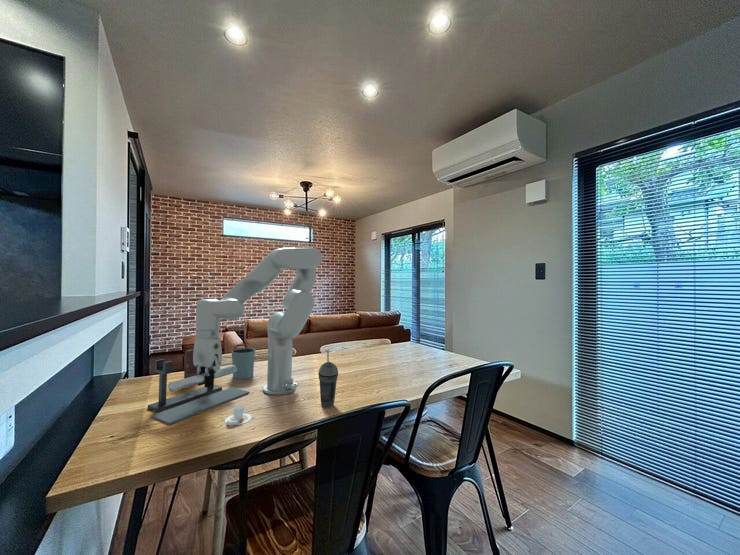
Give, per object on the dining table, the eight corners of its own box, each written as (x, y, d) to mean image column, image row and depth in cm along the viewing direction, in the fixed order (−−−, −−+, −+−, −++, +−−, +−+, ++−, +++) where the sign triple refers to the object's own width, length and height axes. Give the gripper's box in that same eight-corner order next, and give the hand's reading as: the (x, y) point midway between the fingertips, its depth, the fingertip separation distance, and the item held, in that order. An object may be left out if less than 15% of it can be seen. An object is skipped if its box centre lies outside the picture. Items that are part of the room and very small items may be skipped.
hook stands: (222, 389, 121) (223, 350, 121) (157, 412, 100) (159, 364, 100) (212, 387, 124) (213, 348, 124) (147, 408, 103) (149, 361, 103)
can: (193, 384, 126) (194, 351, 126) (180, 383, 128) (181, 350, 128) (204, 380, 132) (205, 348, 132) (191, 378, 134) (192, 347, 134)
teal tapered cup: (249, 380, 134) (249, 353, 134) (226, 379, 134) (227, 352, 134) (257, 373, 144) (258, 348, 144) (236, 372, 144) (237, 347, 144)
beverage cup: (320, 411, 104) (322, 353, 104) (314, 403, 111) (316, 348, 111) (340, 407, 107) (342, 351, 108) (333, 400, 114) (334, 347, 114)
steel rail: (231, 372, 119) (232, 364, 119) (237, 373, 117) (237, 365, 118) (167, 390, 97) (168, 381, 97) (173, 392, 96) (173, 383, 96)
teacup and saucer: (231, 430, 91) (232, 416, 91) (216, 422, 95) (217, 409, 95) (256, 419, 98) (257, 406, 98) (241, 412, 102) (242, 400, 102)
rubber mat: (249, 393, 119) (249, 391, 119) (169, 424, 92) (169, 423, 92) (231, 388, 123) (231, 387, 123) (151, 417, 96) (151, 415, 96)
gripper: (232, 334, 107) (230, 386, 107) (202, 330, 115) (201, 378, 115) (213, 337, 101) (211, 393, 100) (183, 332, 108) (181, 384, 108)
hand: (205, 384), depth 108 cm, fingers closed on steel rail, 3 cm apart
